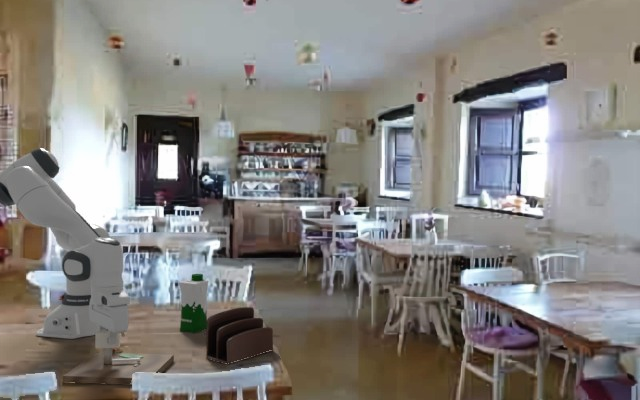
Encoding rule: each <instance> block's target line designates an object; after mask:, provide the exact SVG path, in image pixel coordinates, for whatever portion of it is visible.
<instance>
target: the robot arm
mask: <svg viewBox="0 0 640 400" xmlns="http://www.w3.org/2000/svg"><path fill="white" fill-rule="evenodd" d="M59 171H60V166H59V162H58V159H57V158H56V156H55V155H54V154H53V153H52V152H50V151H49V150H47V149H45V148H41V147H38V148H36V149H33V150H31V151H30V152H29V153H27V154H26V155H23V156H22V157H19V158H18V159H16V160H15V161H13V162H12V163H11V164H9V165H8V166H7V167H6V168H4V169H3V170H2V171H1V172H0V204H1V206H4V207H12V206H14V205H15V206H16V207H17V209H18V210H19V212H20V213H21V214H22V216H23V217H24V218H25V219H26V220H27V221H28V222H29V223H31V224H33V225H34V226H37V227H38V226H39V227H44V228H48V229H50V231H51V232H52V234H53V235H54V237H55V240H56V243H57V245H58V247H60V248H61V249H63V250H64V251H65V252H66V253H65V254H64V256H63V257H62V258H63V259H62V262H61V269H62V273H63V275H64V276H65V279H66V280H65V281H66V283H65V284H66V285H65V286H66V287H65V288H66V292H65V293H64V294H63V295H61V296H59V301H61V304H60V305H58V306H57V307H55V309H53V310H52V311H50V312H49V313H48V314H47V315H46V316H45V319H44V321H43V327H42V328H40V329H38V330H37V332H36V336H37V337H46V338H47V337H48V338H58V339H69V340H74V339H78V338H84V337H90V336H95V333H96V332H97V331H107V329H108V333H109V336H108V338H107V343H108V344H110V345H112V344H115V337H116V334H117V333H120V334H121V333H122V332H124V333H126V332H127V331H128V328H129V323H130V322H129V321H130V317H129V316H130V309H129V304H131V297H130V296H129V294H128V293H127V291H126V290H125V288H124V280H123V271H124V252H123V247H122V244H121V242H120V241H119V240H117V239H116V238H112V237H111V236H110V234H109V232H108V231H107V229H105V228H103V227H101V226H100V225H97V224H93V223H89V222H88V221H87V220H86V219H85V218H84V217H83V216H82V214H80V213H79V212H78V211H77V210H76V204H75V203H74V201H73V200H72V199H71V198H70V197H69V196H68V195H67V193H66V192H65V191H64V190H63V188H61V186H60V185H59V184H58V183H57V182H56V181H55V180H54V179H55V177H56V176H57V175H58V174H59Z"/></svg>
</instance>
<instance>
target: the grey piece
mask: <svg viewBox="0 0 640 400" xmlns="http://www.w3.org/2000/svg"><path fill="white" fill-rule="evenodd" d="M120 334H121V333H117V334H116V337H115V344H112V345H110V344H108V343H107V338H108V336H109V333H108V331H97V332H96V333H95V335H94V336H95V338H94V339H95V340H94V341H95V349H103V351H102V353H103V364H112V362H127V361H140V358H129V359H112V353H113V352H112V348H119V346H120V347H121V339H120V338H121V335H120Z"/></svg>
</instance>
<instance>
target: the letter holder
mask: <svg viewBox="0 0 640 400" xmlns="http://www.w3.org/2000/svg"><path fill="white" fill-rule="evenodd" d="M269 350H273V351H274V330H273V327H268V326H267V327H264V319H263V318H262V317H255V310H254V307H252V306H251V307H250V306H246V307H237V308H231V309H227V310H224V311H220V312H218V313H215V314H213V315H210V316H208V317H207V329H206V351H205V352H206V355H205V356H206V359H207V358H208V359H207V360H209V359H212V360H215V361H219V362H223V363H227V364H228V363H231V362H234V361H237V360H241V359H244V358H247V357H251V356H254V355H257V354H260V353H263V352H266V351H269ZM212 360H211V361H212ZM215 361H214V362H215ZM219 362H218V363H219Z"/></svg>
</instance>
